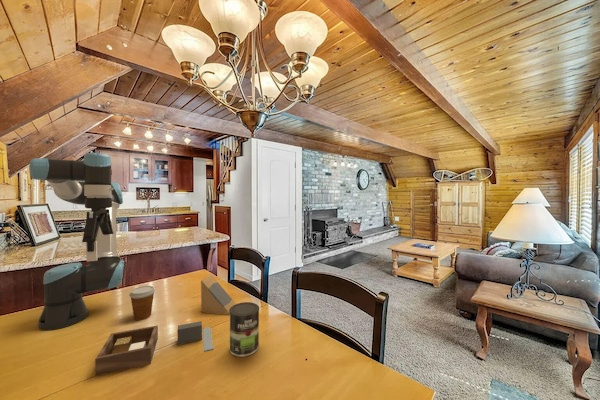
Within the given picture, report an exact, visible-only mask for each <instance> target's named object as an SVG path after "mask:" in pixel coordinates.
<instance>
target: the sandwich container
mask: <svg viewBox="0 0 600 400" xmlns="http://www.w3.org/2000/svg"><path fill="white" fill-rule="evenodd" d="M200 293H201V294H200V297H201V302H200V303H201V308H200V309H201V313H208V314H215V315H225V316H230V313H229V310H230V308H231V307H232V306H233V305H235V304H237V303H236V302H235V301H234V299H233V298H232V296H230V295H229V293H227V291H226V290H225V289H224V288H223V286H222V285H221V284H220V283H219V282H218V281H217V279H216V278H215V277H214V276H213V274H210V275H208V276H206V277H204V278H202V279H201V281H200Z"/></svg>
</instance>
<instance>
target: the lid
mask: <svg viewBox="0 0 600 400" xmlns="http://www.w3.org/2000/svg"><path fill="white" fill-rule="evenodd" d="M202 324H203V323H202V321H196V322H190V323H185V324H180V325H177V345H178V346H179V345H184V344H188V343H193V342H197V341H201V340H203V352H205V353H206V352H210V351H214V344H213V343H214V342H213V337H212V329H211V328H212V327H211V326H208V327H204V328H203V325H202Z"/></svg>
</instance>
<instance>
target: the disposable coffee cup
mask: <svg viewBox="0 0 600 400" xmlns="http://www.w3.org/2000/svg"><path fill="white" fill-rule="evenodd" d="M155 292H156V288H155V287H154V286H152V285H144V286H143V285H142V286H138V287H135V288H133V289H132V290H131V291H130V292H129V295H128V296H129V297H130V300H131V307H132V313H133V319H134V320H136V321H141V320H146V319H147V318H150V317H151V316H152V310H153V302H154V296H155V295H154V294H155Z"/></svg>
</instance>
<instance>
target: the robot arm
mask: <svg viewBox="0 0 600 400" xmlns="http://www.w3.org/2000/svg"><path fill="white" fill-rule="evenodd" d="M112 170H113V169H112V157H111V156H110V154H106V153H98V152H86V153H85V154H84V156H83V160H73V159H60V158H59V159H58V158H47V157H45V158H44V157H43V158H42V157H38V158H37V157H35V158H34V157H33V158H31V160H30V161H29V175H30V177H31V178H32V180H35V181H36V180H38V181H46V182H47V183H48V184H49V185H50V186H51V187H52V188H53V194H55V196H56V197H58V198H59V199H61V200H62V201H65V202H67V203H71V204H75V205H81V206H84V208H85V209H91V210H90V211H87V212H86V218H85V219H86V220H85V225H84V230H83V236H82V239H81V242H82V243H85V250H86V251H85V253H86V262H88V264H86V265H83V264H82V263H81V262H79V261H78V262H70V263H66V264H61V265H57V266H56V267H55V266H54V267H52V268H50V269H48V270H46V271H45V272H44V273H43V274H44V275H43V282H42V285H43V308H42V311H41V314H40V316H39V320H38V323H37V324H38V329H40V330H41V331H42V330H43V331H51V330H58V329H62V328H66V327H70V326H72V325H75V324H77V323H79V322H81V321H84V320H85V319H86V318H87V317H88V315H89V310H88V306H87V305H86V303H85V301H84V299H83V294H86V293H90V292H96V291H102V290H107V289H108V290H110V289H113V288H116V287H119V286H121V284H122V282H123V276H124V267H125V260H123V259H121V256H120V255H119V254H117V252H118V251H117V210H118V209H119V208H120V205H123V203H124V200H123V192H122V188H121V185H120V183H118V182H114V181H112V175H113V171H112Z"/></svg>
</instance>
